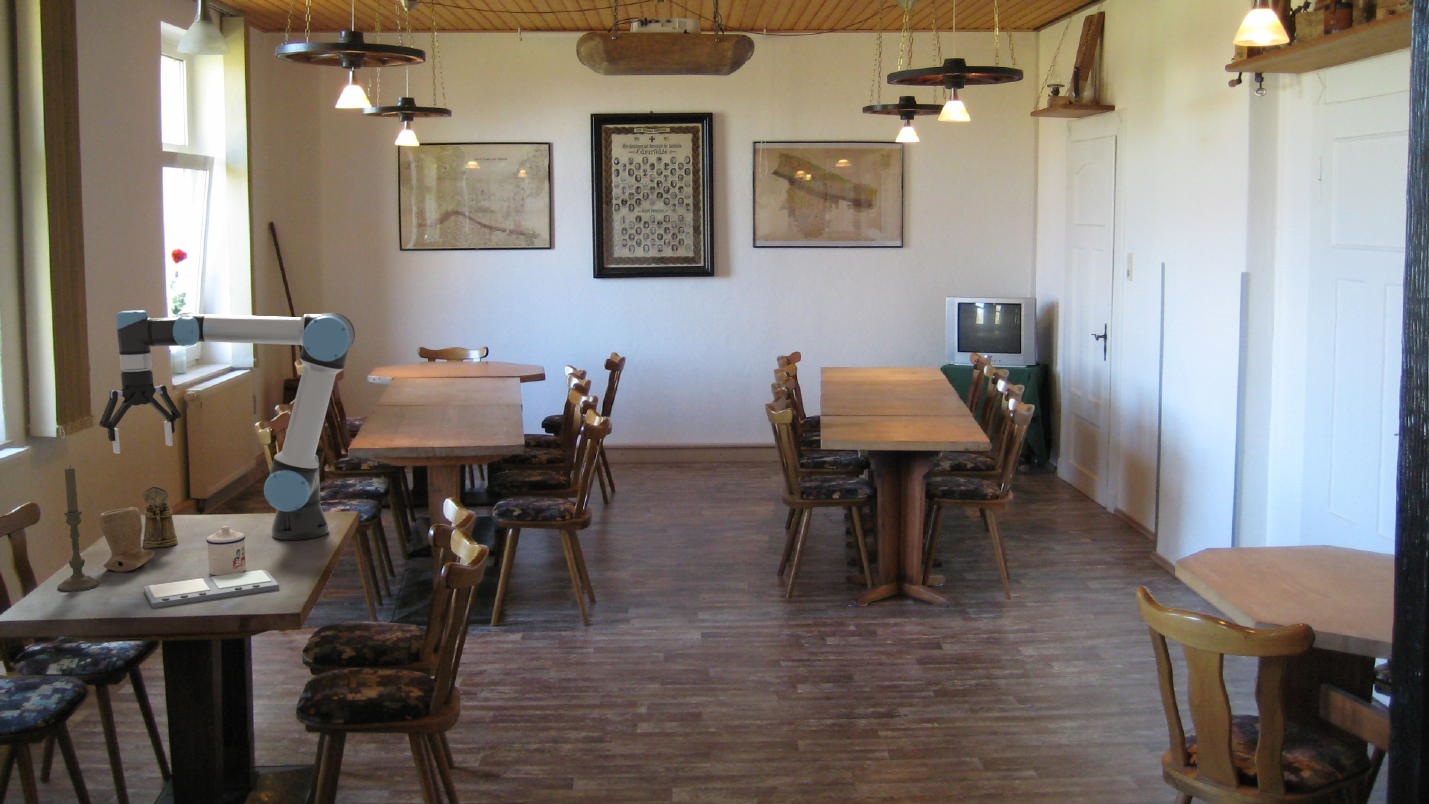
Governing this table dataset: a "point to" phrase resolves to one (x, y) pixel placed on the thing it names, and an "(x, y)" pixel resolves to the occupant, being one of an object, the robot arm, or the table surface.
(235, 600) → the table surface
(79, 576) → the candlestick holder
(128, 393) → the robot arm
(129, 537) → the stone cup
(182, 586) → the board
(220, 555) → the teacup with lid
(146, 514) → the wooden mug
